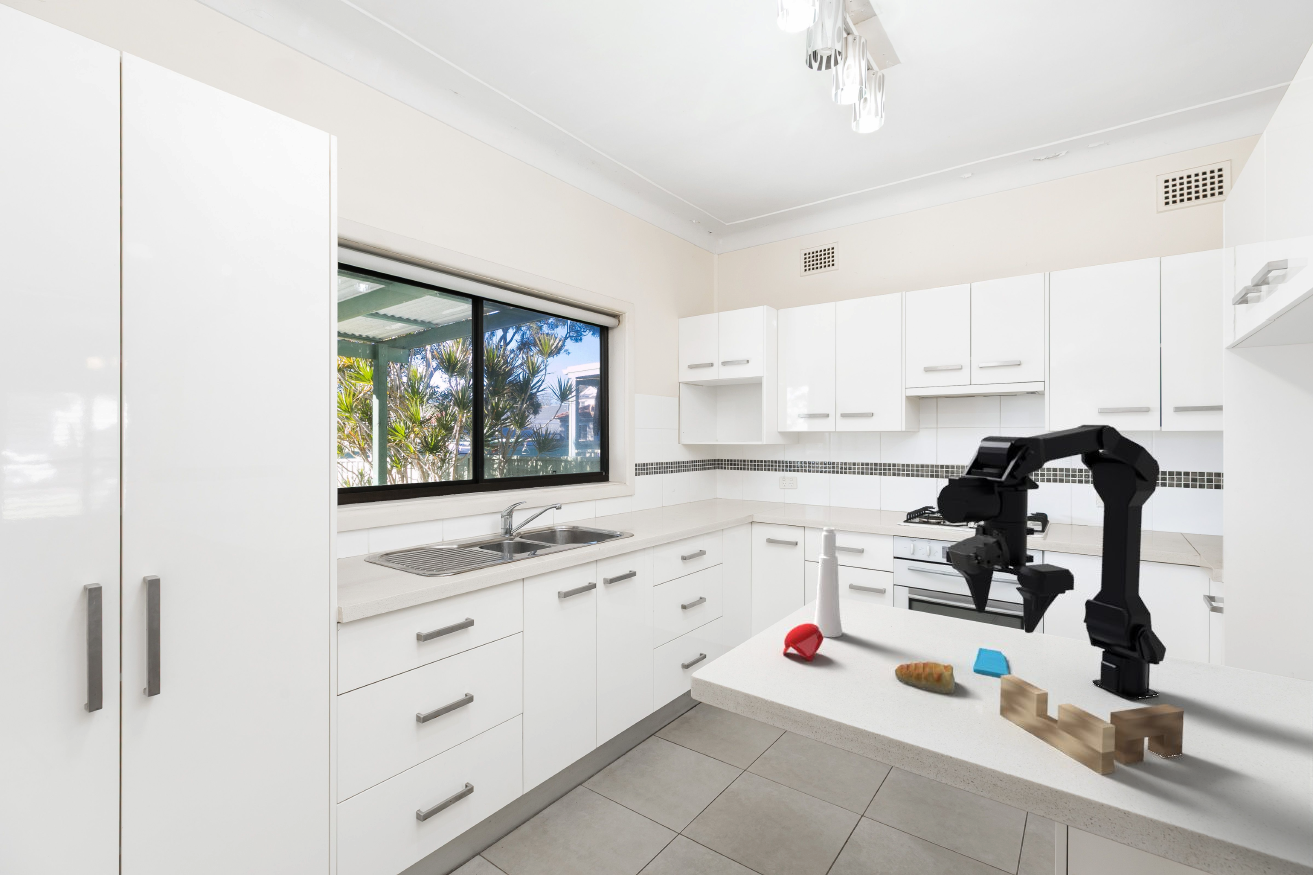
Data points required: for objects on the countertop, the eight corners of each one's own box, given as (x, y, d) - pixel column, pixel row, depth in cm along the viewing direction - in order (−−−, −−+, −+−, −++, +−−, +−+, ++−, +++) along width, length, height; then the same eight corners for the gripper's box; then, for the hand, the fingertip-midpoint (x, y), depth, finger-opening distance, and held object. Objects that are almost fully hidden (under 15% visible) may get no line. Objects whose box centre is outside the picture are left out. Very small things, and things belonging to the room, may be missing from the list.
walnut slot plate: (1166, 746, 83) (1167, 703, 83) (1182, 754, 81) (1183, 710, 81) (1109, 756, 80) (1110, 712, 80) (1124, 764, 79) (1125, 719, 78)
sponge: (1013, 654, 114) (979, 644, 117) (1010, 676, 104) (972, 665, 107) (1012, 661, 114) (978, 651, 117) (1009, 685, 104) (971, 673, 107)
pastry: (894, 686, 102) (894, 663, 102) (895, 671, 108) (896, 650, 108) (956, 697, 98) (956, 673, 98) (954, 681, 104) (954, 659, 104)
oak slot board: (999, 714, 92) (1000, 675, 92) (1010, 712, 92) (1011, 674, 92) (1101, 774, 76) (1102, 727, 76) (1113, 772, 77) (1115, 725, 77)
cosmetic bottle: (843, 638, 123) (845, 531, 123) (812, 636, 125) (814, 529, 124) (841, 628, 129) (843, 526, 128) (812, 626, 130) (813, 524, 130)
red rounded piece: (824, 633, 117) (797, 614, 119) (830, 633, 112) (801, 613, 113) (802, 668, 116) (775, 649, 117) (807, 670, 110) (778, 650, 112)
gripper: (918, 512, 98) (917, 607, 99) (1010, 533, 80) (1008, 650, 81) (976, 509, 101) (974, 602, 102) (1078, 529, 83) (1076, 642, 83)
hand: (1003, 622), depth 92 cm, fingers open, 9 cm apart
